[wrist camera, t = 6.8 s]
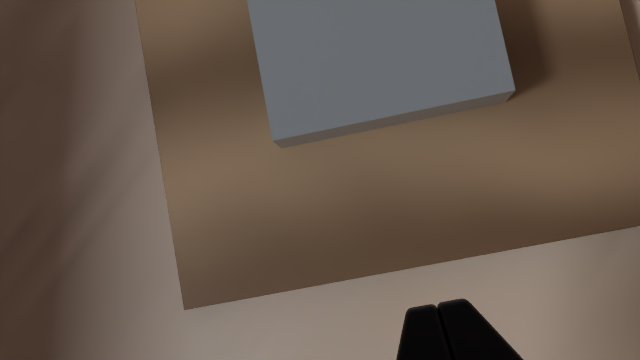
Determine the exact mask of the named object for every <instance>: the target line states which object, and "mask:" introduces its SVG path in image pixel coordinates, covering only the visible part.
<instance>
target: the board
mask: <svg viewBox="0 0 640 360" xmlns="http://www.w3.org/2000/svg"><path fill="white" fill-rule="evenodd" d="M495 4H496V8H497V12H498V17H499V21H500V25H501V29H502V34H503V38H504V42H505V47H506V51H507V55H508V60H509V64H510V68H511V73H512V77H513V81H514V85H515V91H514V93H513V94H512V95H511V96H510V97H509V98H508V99H507V101H506V102H503V103H499V104H494V105H489V106H484V107H479V108H474V109H470V110H465V111H460V112H455V113H450V114H445V115H441V116H436V117H431V118H426V119H421V120H416V121H412V122H407V123H402V124H397V125H392V126H388V127H383V128H378V129H373V130H368V131H363V132H359V133H354V134H349V135H344V136H339V137H334V138H330V139H325V140H320V141H315V142H310V143H305V144H301V145H296V146H291V147H286V148H280V147H279V146H278V145H277V144H276V143H274V142H273V141H272V135H271V130H270V124H269V119H268V113H267V108H266V103H265V97H264V92H263V86H262V81H261V75H260V70H259V64H258V59H257V53H256V48H255V42H254V37H253V31H252V26H251V20H250V15H249V9H248V4H247V0H135V5H136V11H137V17H138V24H139V30H140V36H141V42H142V49H143V55H144V61H145V67H146V74H147V80H148V86H149V92H150V99H151V105H152V111H153V117H154V124H155V130H156V136H157V142H158V149H159V155H160V161H161V167H162V174H163V180H164V186H165V192H166V199H167V205H168V211H169V218H170V224H171V230H172V236H173V243H174V249H175V255H176V261H177V268H178V274H179V280H180V286H181V293H182V299H183V305H184V310H187V309H193V308H198V307H203V306H209V305H214V304H220V303H225V302H230V301H236V300H241V299H247V298H252V297H258V296H263V295H268V294H274V293H279V292H285V291H290V290H295V289H301V288H306V287H312V286H317V285H322V284H328V283H333V282H339V281H344V280H349V279H355V278H360V277H366V276H371V275H376V274H382V273H387V272H393V271H398V270H403V269H409V268H414V267H420V266H425V265H430V264H436V263H441V262H447V261H452V260H457V259H463V258H468V257H474V256H479V255H484V254H490V253H495V252H501V251H506V250H512V249H517V248H522V247H528V246H533V245H539V244H544V243H549V242H555V241H560V240H566V239H571V238H576V237H582V236H587V235H593V234H598V233H603V232H609V231H614V230H620V229H625V228H630V227H636V226H640V79H639V75H638V71H637V68H636V64H635V60H634V56H633V52H632V48H631V44H630V40H629V36H628V33H627V29H626V25H625V21H624V17H623V13H622V9H621V5H620V1H619V0H495Z"/></svg>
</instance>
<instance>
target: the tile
mask: <svg viewBox="0 0 640 360" xmlns="http://www.w3.org/2000/svg"><path fill="white" fill-rule="evenodd" d="M247 4H248V9H249V15H250V20H251V26H252V31H253V37H254V42H255V48H256V53H257V59H258V64H259V70H260V75H261V81H262V86H263V92H264V97H265V103H266V108H267V113H268V119H269V124H270V130H271V135H272V141H273V142H274V143H276V144H277V145H278V146H279V147H280V148H286V147H291V146H296V145H301V144H305V143H310V142H315V141H320V140H325V139H330V138H334V137H339V136H344V135H349V134H354V133H359V132H363V131H368V130H373V129H378V128H383V127H388V126H392V125H397V124H402V123H407V122H412V121H416V120H421V119H426V118H431V117H436V116H441V115H445V114H450V113H455V112H460V111H465V110H470V109H474V108H479V107H484V106H489V105H494V104H499V103H503V102H506V101H507V99H508V98H509V97H510V96H511V95H512V94H513V93H514V91H515V85H514V81H513V77H512V73H511V68H510V64H509V60H508V55H507V51H506V47H505V42H504V38H503V34H502V29H501V25H500V21H499V17H498V12H497V8H496V4H495V0H247Z"/></svg>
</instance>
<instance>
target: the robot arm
mask: <svg viewBox="0 0 640 360" xmlns="http://www.w3.org/2000/svg"><path fill="white" fill-rule="evenodd" d="M396 360H523V359H522V358H521V356H520V355H519V354H518V353H517V352H516V351H515V350H514V349H513V348H512V347H511V346H510V345H509V344H508V343H507V342H506V340H505V339H504V338H503V337H502V336H501V335H500V334H499V333H498V332H497V331H496V330H495V329H494V328H493V327H492V325H491V324H490V323H489V322H488V321H487V320H486V319H485V318H484V317H483V316H482V315H481V314H480V313H479V312H478V311H477V309H476V308H475V307H474V306H473V305H472V304H471V303H470V302H469V301H467V300H466V299H457V300H451V301H446V302H441V303H439V304H438V306H437V307H436V306H435V305H432V304H429V305H424V306H418V307H413V308H410V309H408V310H407V312H406V315H405V320H404V325H403V329H402V334H401V339H400V344H399V349H398V354H397V359H396Z"/></svg>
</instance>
